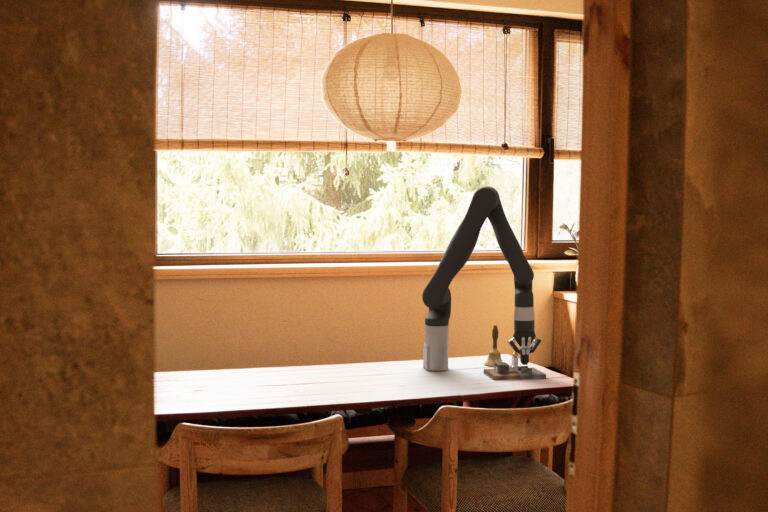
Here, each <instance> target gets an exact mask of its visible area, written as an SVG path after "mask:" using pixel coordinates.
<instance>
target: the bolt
mask: <svg viewBox="0 0 768 512" xmlns="http://www.w3.org/2000/svg"><path fill="white" fill-rule="evenodd" d="M511 355H512V356H511V365H509V372H518V366H519V357H518V355H519V354H518V353H516V352H513V353H512V354H511ZM494 369H495V371H496V372H498V366H495V367H494Z"/></svg>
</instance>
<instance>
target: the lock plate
mask: <svg viewBox="0 0 768 512" xmlns="http://www.w3.org/2000/svg"><path fill="white" fill-rule="evenodd" d="M495 366H498V372H496V371H495V368H484V369H483V374H484V375H486V376H487V377H489V378H490V379H491V380H493V381H504V380H505V381H507V380H508V381H510V380H512V381H513V380H514V381H515V380H535V379H541V380H542V379H547V374H546V373H544V372H542V371H541V370H539V369H537V368H535V367H529V366H528V365H518V372H509V366H510V364H508V363H506V362H505V361H504V362H503V361H502V362H499V363H495Z"/></svg>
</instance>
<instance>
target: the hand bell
mask: <svg viewBox="0 0 768 512" xmlns="http://www.w3.org/2000/svg"><path fill="white" fill-rule="evenodd" d="M498 328H499V327H498V325H497V324H495V325H493V328H492V331H491V338H492V349H490V351H489V352H488V357H487V359H486V361H485V362H484V363H483V366H486V367H493V368H495V363H499V362H503V360H502V356H501V351H499V350H498V339H499V329H498Z"/></svg>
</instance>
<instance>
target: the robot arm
mask: <svg viewBox="0 0 768 512" xmlns="http://www.w3.org/2000/svg"><path fill="white" fill-rule="evenodd" d="M500 197H501V196H500V194H499V191H498V190H497V189H496V188H494V187H492V186H488V185H486V186H482V187H479V188H478V189H476V190H475V192H474V193H473V196H472V198H471V200H470V204H469V206H468V209H467V211H466V213H465V215H464V217H463V220H461V222H460V224H459V225H458V227H457V229H456V230H455V232H454V234H453V235H452V237H451V239H450V241H449V243H448V245H447V247H446V249H445V252H444V253H443V255H442V258H441V260H440V262H439V264H438V266H437V268H436V270H435V272H434V274H433V276H431V279H430V280H429V281H428V283H427V284H426V285H425V288H423V289H424V290H423V291H422V295H421V297H422V298H421V299H422V302H423V304H424V306H425V307H427V308H428V312H427V314H426V316H425V318H424V343H423V344H422V345H423V349H422V350H423V352H422V356H423V357H422V360H423V361H422V368H423V369H424V370H425V371H431V372H432V371H435V372H436V371H437V372H440V371H447V370H449V332H450V330H449V329H450V328H449V327H450V326H449V325H450V318H451V314H452V311H451V309H452V292H451V290H450V288H449V287H450V284H452V281H453V280H454V278H455V277H456V276H457V275H458V273H459V272H460V271H461V270H462V269H463V268H464V267H465V265H466V264H467V262H468V261H469V259H470V257H471V255H473V251H474V249H475V247H476V245H477V242H478V240H479V236H480V232H481V231H482V230H481V229H482V227H483V225H484V223H485V222H486V220H487V219H488V221H489V223H490V225H491V227H492V230H493V233H494V236H495V238H496V241H497V244H498V247H499V248H500V251H501V253H502V256H503V257H504V258H505V261H506V263H508V265H509V268H510V270H511V272H512V275H513V281H514V282H513V285H514V308H513V309H514V311H513V329H514V330H513V331H514V333H513V335H512V338H511V339H508V340H507V343H508V344H509V346H510V347H511V348H512V350H513V351H515V352H516V353H517V354H518V355H520V358H519V361H520V363H521V364H522V366H528V364H529V363H530V354H533V353H535V351H536V350H537V349H538V347H539V346H540V345H541V342H542V340H541V339H540V338H538V337H537V336H536V335H537V334H536V333H535V329H536V328H535V326H536V325H535V323H536V321H535V307H534V306H535V305H534V303H535V302H534V297H535V296H534V293H533V280H534V277H535V273H534V270H533V268H532V267H531V264H530V263H529V262H528V259H527V258H526V256H525V253H524V251H523V249H522V247H521V245H520V242H519V241H518V239H517V236H516V234H515V232H514V231H513V228H512V227H511V225H510V223H509V221H508V218H507V216H506V214H505V211H504V208H503V205H502V201H501V198H500ZM516 343H517V344H518V347H517V345H516Z"/></svg>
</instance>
